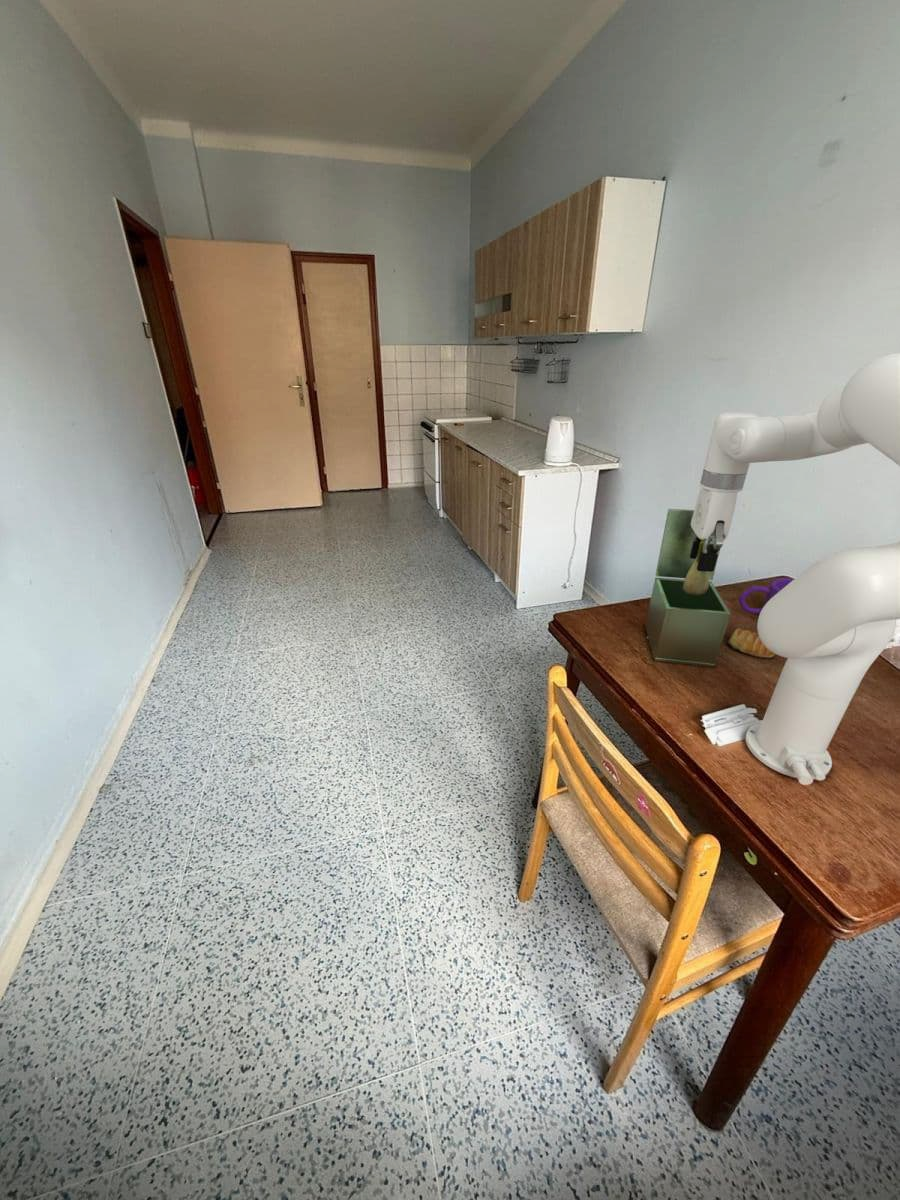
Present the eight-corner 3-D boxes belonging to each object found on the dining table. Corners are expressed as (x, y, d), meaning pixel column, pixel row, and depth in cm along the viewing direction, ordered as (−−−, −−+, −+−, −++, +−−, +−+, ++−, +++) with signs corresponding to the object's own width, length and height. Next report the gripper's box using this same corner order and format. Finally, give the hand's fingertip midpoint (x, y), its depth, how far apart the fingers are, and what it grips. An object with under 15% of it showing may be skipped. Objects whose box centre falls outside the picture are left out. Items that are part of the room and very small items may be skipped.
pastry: (777, 651, 110) (783, 637, 108) (769, 663, 106) (774, 649, 104) (734, 636, 116) (738, 623, 114) (724, 647, 112) (728, 634, 110)
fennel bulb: (688, 584, 107) (700, 535, 101) (711, 592, 104) (724, 541, 98) (677, 593, 104) (688, 542, 98) (699, 601, 100) (713, 549, 95)
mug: (804, 614, 124) (817, 580, 120) (818, 636, 115) (833, 600, 110) (730, 605, 129) (740, 572, 125) (737, 625, 120) (748, 590, 115)
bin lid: (729, 512, 104) (728, 511, 105) (669, 509, 107) (668, 508, 107) (712, 580, 111) (711, 579, 112) (655, 576, 114) (655, 575, 114)
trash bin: (714, 667, 105) (730, 613, 98) (654, 660, 107) (666, 608, 101) (698, 630, 118) (711, 581, 112) (645, 625, 121) (655, 577, 114)
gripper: (692, 469, 100) (674, 548, 109) (713, 490, 85) (691, 580, 94) (730, 470, 99) (709, 550, 107) (759, 492, 84) (732, 583, 92)
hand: (701, 563), depth 101 cm, fingers closed on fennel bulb, 5 cm apart
